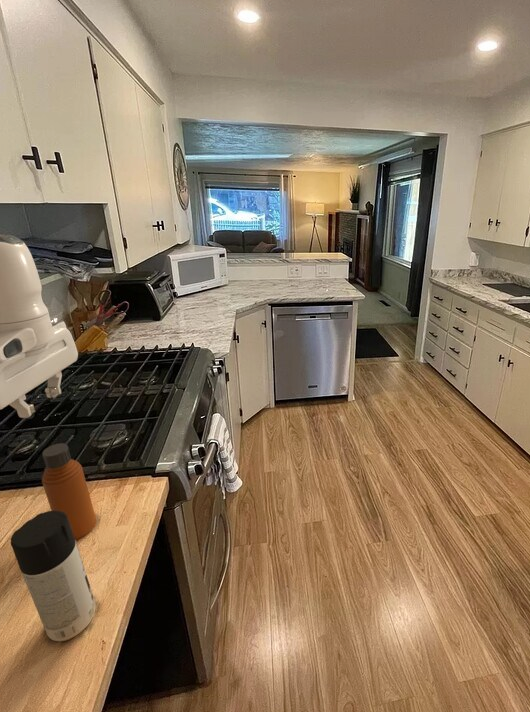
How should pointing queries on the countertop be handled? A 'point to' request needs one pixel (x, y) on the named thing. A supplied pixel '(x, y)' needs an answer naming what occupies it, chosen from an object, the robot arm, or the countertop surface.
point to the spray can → (54, 574)
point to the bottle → (70, 496)
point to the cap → (56, 455)
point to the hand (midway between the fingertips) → (41, 405)
